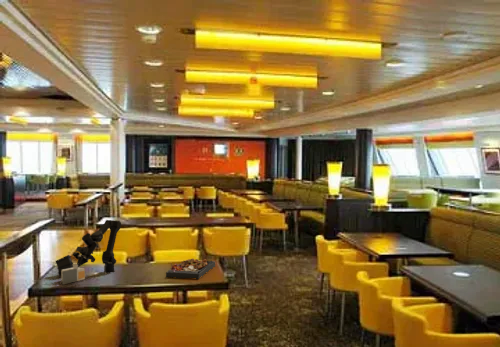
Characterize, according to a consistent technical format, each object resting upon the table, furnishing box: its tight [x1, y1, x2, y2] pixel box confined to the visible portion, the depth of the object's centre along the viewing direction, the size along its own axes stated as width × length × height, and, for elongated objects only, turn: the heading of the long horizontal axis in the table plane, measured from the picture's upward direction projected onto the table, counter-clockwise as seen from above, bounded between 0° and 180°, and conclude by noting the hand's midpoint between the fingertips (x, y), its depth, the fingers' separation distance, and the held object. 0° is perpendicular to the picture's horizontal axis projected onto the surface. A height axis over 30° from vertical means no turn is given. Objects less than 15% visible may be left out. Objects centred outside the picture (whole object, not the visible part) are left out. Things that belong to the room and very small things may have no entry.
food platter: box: [165, 258, 216, 280], centre depth 378 cm, size 45×25×10 cm, turn 169°
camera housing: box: [61, 266, 86, 282], centre depth 350 cm, size 13×10×8 cm
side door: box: [61, 263, 78, 285], centre depth 341 cm, size 11×3×12 cm, turn 146°
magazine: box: [55, 254, 74, 277], centre depth 364 cm, size 4×13×15 cm, turn 78°
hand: (76, 267), depth 346 cm, fingers closed, pressing on side door
